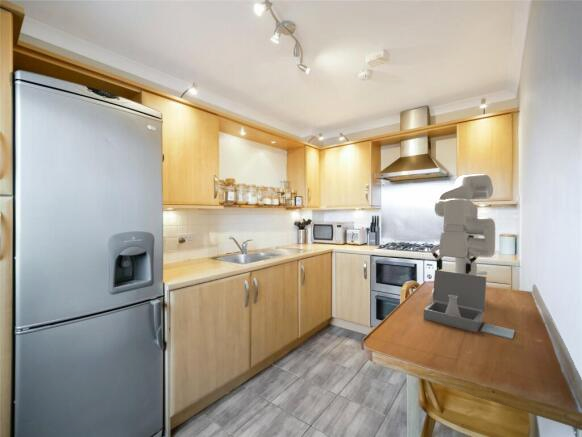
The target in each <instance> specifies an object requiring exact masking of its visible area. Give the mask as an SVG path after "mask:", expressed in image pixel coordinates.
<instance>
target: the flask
mask: <svg viewBox="0 0 582 437" xmlns="http://www.w3.org/2000/svg"><path fill="white" fill-rule="evenodd" d="M457 298H458V297H457V296H455V295H449V304H448V307H447V309H446V312H445V313H446V314H450V315H454V316H458V317H461V315H460V312H459V309H458V305H457Z"/></svg>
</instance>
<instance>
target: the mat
mask: <svg viewBox="0 0 582 437" xmlns="http://www.w3.org/2000/svg"><path fill="white" fill-rule="evenodd" d="M515 331H516V330H515V329H510V328H507V327H502V326H498V325H494V324H490V323H484V324H483V325H482V327H481V329H480V332H483V333H487V334H490V335H494V336H498V337H501V338H506V339H508V340H513V339H514V335H515V333H516V332H515Z"/></svg>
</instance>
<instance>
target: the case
mask: <svg viewBox="0 0 582 437" xmlns="http://www.w3.org/2000/svg"><path fill="white" fill-rule="evenodd" d="M448 304H449V303H446V302H442V301H437V300H434V301H432V302H431V304H430V305H429V306H428V305H427V306H426V307H425V308H423V320H426V321H430V322H434V323H438V324H442V325H445V326H450V327H453V328H458V329H462V330H466V331H470V332H473V333H477V332H478V330H479V329H480V328H481V325H482V324H483V322H484V321H483V320H484V318H483V317H484V312H483V310H480V309H475V308H470V307H466V306H461V305H458V309H459V312H460V315H461V317H458V316H454V315H450V314H446V313H445V312H446V309H447V307H448Z"/></svg>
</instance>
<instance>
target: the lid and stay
mask: <svg viewBox="0 0 582 437" xmlns="http://www.w3.org/2000/svg"><path fill="white" fill-rule="evenodd" d="M433 280H434V281H433V288H432V291H431V293H430V294H431V295H430V299H429V302H428V303H427V306H429V305H430V304H431V303H432V302H434V300H437V301H442V302H446V303H449V295H455V296H457V297H458V298H457V305H461V306H466V307H470V308H475V309H480V310H483V313H485V312H486V310H485V309H486V292H487V291H486V290H487V276H481V275H477V276H475V275H468V274H460V273H455V272H453V271H452V272H450V271H445V270H438V269H435V270H434V278H433Z"/></svg>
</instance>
